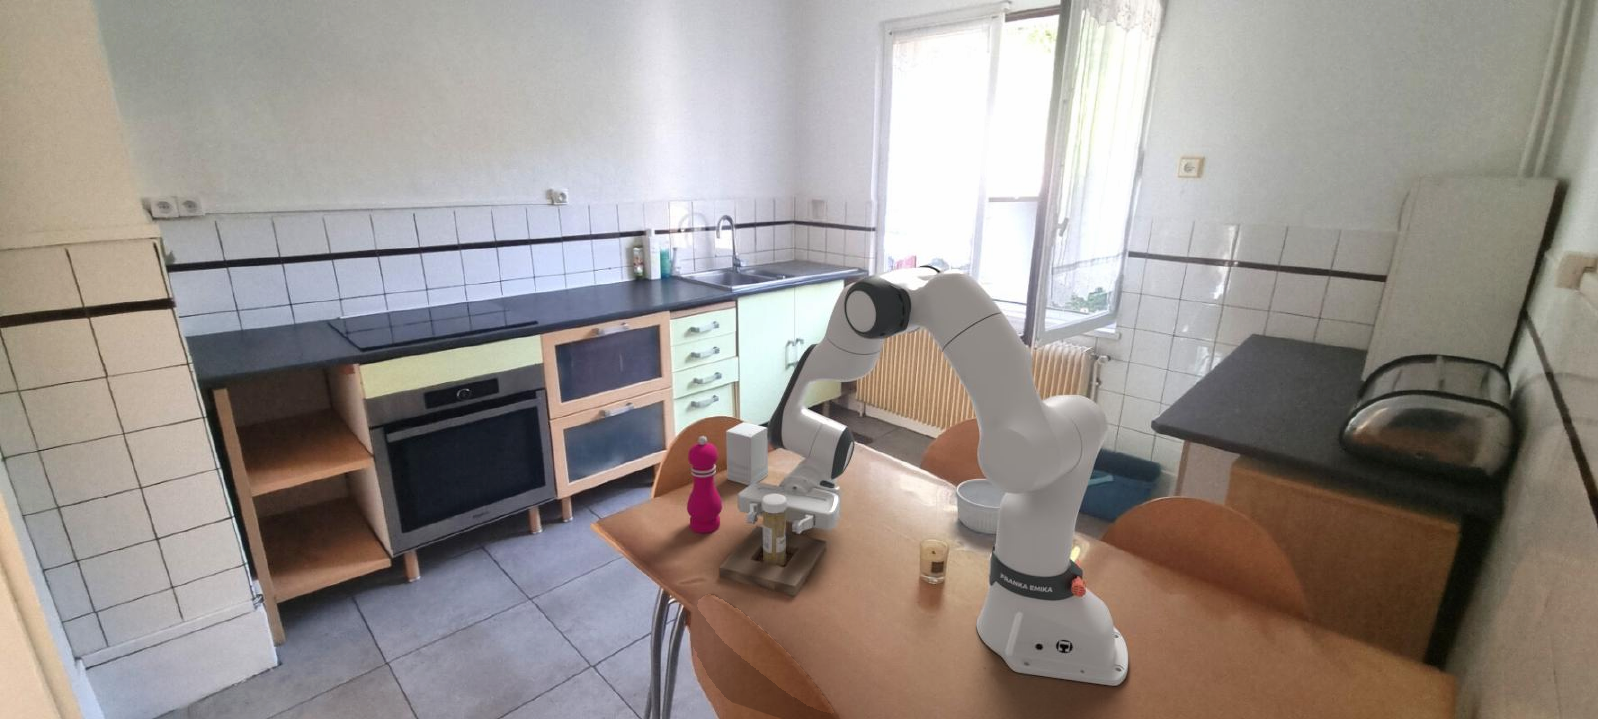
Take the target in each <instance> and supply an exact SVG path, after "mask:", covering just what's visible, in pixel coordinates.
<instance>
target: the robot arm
mask: <svg viewBox="0 0 1598 719" xmlns="http://www.w3.org/2000/svg"><path fill="white" fill-rule="evenodd" d="M923 329H924V330H926V331H927V332H928V333H929V334H930V336H931V337H932V339H933V340H934V342H935V344H936V345H937V347H938V348H939V350H940V351H941V353H942V354H943V356H944V357H945V359H946V361H947V362H948V363H949V366H950V367H951V368H952V370H953V372H954V373H955V375H956V376H957V378H958V379H959V381H960V383H961V385H962V386H963V388H964V389H965V391H966V393H967V395H968V398H969V400H970V402H971V405H972V407H973V410H974V414H975V418H976V421H977V425H978V426H977V427H978V430H979V431H978V432H979V443H978V446H977V462H978V465H979V468H980V470H981V472H982V475H983V476H984V477H985V479H987V480H988V481H989V482H990V483H991V484H992V485H993V486H995V487H996V488H998V489H1000V490H1002V491H1004V492H1006V494H1005V495H1004V497H1003V499H1002V501H1001V503H1000V507H999V514H998V524H997V534H995V544H994V545H993V547H992V551H991V553H990V556H989V557H990V559H989V568H988V578H989V579H988V582H989V586H988V590H987V594H986V598H985V601H984V604H983V607H982V610H981V611H980V614H979V615H978V617H977V619H976V620H977V621H976V629H977V633H978V635H979V637H980V638H981V640H982V641H983V643H984V644H985V645H986V646H987V647H989V648H990V649H991V650H992V651H993V652H995V653H997V655H998V656H1000V657H1002V659H1003V660H1004V661H1005V663H1006V665H1008V667H1009V668H1010V669H1011V670H1012V671H1014V672H1016V673H1018V674H1019V673H1020V674H1025V675H1033V676H1041V677H1047V678H1055V679H1063V680H1070V681H1076V682H1083V683H1090V684H1098V685H1106V686H1112V687H1113V686H1116V687H1117V686H1119V685H1120V684H1121V683H1122V682H1123V681H1124V680H1125V679H1126V677H1127V675H1128V670H1129V653H1128V652H1129V651H1128V647H1127V644H1126V641H1125V639H1124V637H1123V636H1122V634H1121V633H1120V631H1119V630H1118V629H1117V628H1116V627H1115V625H1114V622H1113V618H1112V615H1111V613H1110V612H1111V611H1110V610H1109V608H1108V606H1107V605H1106V604H1105V602H1104V601H1103V600H1101V599H1100V597H1098V596H1097V595H1095V594H1094V593H1093V592H1092V591H1091V590H1089V589H1088V588H1087V587H1086V586H1087V585H1086V584H1087V583H1086V581H1084V580H1083V574H1084V571H1083V569H1082V568H1081V562H1080V559H1079V558H1078V559H1077V560H1076V562H1075V561H1073V559H1071V556H1072V551H1073V550H1072V548H1073V542H1074V535H1075V529H1076V523H1077V520H1078V519H1077V518H1078V516H1079V515H1078V514H1079V510H1080V509H1081V505H1082V503H1083V499H1084V497H1085V493H1086V491H1087V488H1088V485H1089V483H1090V479H1091V476H1092V473H1093V470H1094V467H1095V463H1096V459H1097V458H1098V455H1099V453H1100V450H1101V448H1102V446H1103V445H1104V442H1105V440H1106V439H1107V435H1108V430H1109V429H1108V428H1109V427H1108V425H1109V424H1108V420H1107V417H1106V415H1105V412H1104V411H1103V409H1102V408H1101V407H1100V406H1099V404H1097V403H1096V402H1095V401H1093V400H1092V399H1090V398H1089V397H1086V396H1083V395H1080V394H1061V395H1059V394H1058V395H1052V396H1049V397H1047V398H1045V399H1044V400H1043V399H1042V397H1041V396H1040V393H1039V391H1038V389H1037V387H1036V384H1035V380H1034V377H1033V376H1034V375H1033V370H1032V366H1033V356H1032V353H1031V350H1029V348H1028V347H1027V346H1026V344H1025V342H1024V341H1023V340H1022V338H1021V337H1020V335H1019V334H1018V333H1017V331H1016V330H1015V328H1014V327H1013V325H1012V324H1011V322H1010V321H1009V319H1008V318H1007V316H1005V314H1004V312H1003V311H1002V310H1001V308H1000V307H999V305H998V304H997V303H996V302H995V301H994V300H993V298H992V297H991V296H990V295H989V293H987V291H986V290H985V289H984V288H983V287H982V286H981V285H980V284H979V283H978V282H977V281H976V280H975V278H973V277H972V276H971V275H969V273H967V272H966V271H963V270H960V269H957V268H955V269H954V268H953V269H946V268H944V267H941V266H937V265H929V264H926V265H920V266H917V267H908V268H907V267H906V268H896V269H895V268H894V269H891V270H887V271H884V272H881V273H878V274H876V275H867V276H866V277H863V278H861V279H859V280H857V281H856V282H852V283H850V284H848V285H846V286H845V287H844V288H843V289H842V290H841V292H840V294H839V296H838V298H837V300H836V302H835V304H834V306H833V308H832V311H831V314H830V317H829V319H828V323H827V326H826V331H825V334H824V337H823V338H822V340H821V341H820V342H819V343H812V344H810V346H808V347H807V348H806V349H805V351H804V352H803V353H802V355H801V356H800V358H799V360H798V362H797V364H796V366H795V367H794V369H793V372H792V373H791V375H790V378H789V380H788V382H787V385H786V387H785V390H784V391H783V394H782V396H781V398H780V401H779V403H778V404H777V407H776V408H775V410H774V412H773V413H772V414H771V416H770V418H769V421H768V423H767V436H768V437H769V440H770V442H771V443H772V445H773V446H774V447H776V448H780V449H783V450H785V451H790V452H792V453H793V454H796V455H798V456H800V457H801V458H802V457H803V459H802V460H801V461H800V462H799V463H797V465H796V467H795V468H794V469H792V470H791V471H790V472H789V473H788V474H786V476H784V478H783V479H782V480H781V481H780V483H779V485H776V484H770V483H765V482H757V483H754V484H752V485H750V486H748V485H747V487H745V488H743V490H741V491H740V492H739V493H738V494H737V508H738V511H739V512H740V513H746V514H747V515H746V522H747V523H748V524H752V525H755V524H756V523H757V522H758V518H759V517H763V509H762V499H763V497H764V496H766V495H769V494H780V495H783V496H785V497H786V500H787V508H786V516H785V517H786V523H792V525H791V529H792V530H791V533H792V534H796V535H800V534H801V533H802V532H803V531H806V530H809V529H812V528H814V529H819V530H824V531H832V530H834V529H835V528H836V527H837V525H838V522H839V521H840V520H839V519H840V514H841V506H842V491H841V486H839V485H838V484H836V482H838V479H839V477H841V476H842V475H843V474H844V472H845V471H846V470H847V468H848V466H849V464H850V463H851V459H852V456H853V454H854V450H855V445H856V444H855V443H856V442H855V438H854V435H853V432H852V430H851V429H850V427H849V426H847V425H845V424H842V423H840V422H839V421H836V420H833V419H832V418H829V417H826V416H824V415H822V414H820V413H817V412H815V411H813V410H811V409H808V408H807V407H806V406H805V405H804V404H803V402H804V399H805V398H806V395H807V393H808V390H809V388H810V386H811V384H812V383H813V382H816V381H817V382H818V381H819V382H820V381H822V382H824V381H826V382H827V381H829V382H830V381H831V382H840V383H845V382H846V383H847V382H848V383H849V382H853V381H857V380H860V379H862V378H865V377H866V376H868V375H869V374H870V373H871V372H872V371H873V370H874V369H875V367H876V365H877V363H878V361H879V358H880V357H881V356H880V355H881V353H882V350H883V346H884V343H885V339H888V338H890V337H893V336H899V335H904V334H911V333H915V332H918V331H921V330H923ZM758 516H759V517H758Z"/></svg>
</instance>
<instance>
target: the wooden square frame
mask: <svg viewBox="0 0 1598 719" xmlns="http://www.w3.org/2000/svg"><path fill="white" fill-rule="evenodd" d="M826 551H827V541H826V540H822V539H818V538H813V537H809V536H804V535H800V534H797V533H793V532H787V531H786V556H790V557H791V558H790V559H789V561H788V562H787V564H786V565H784V566H785V567H784V566H782V567H780V566H776V565H772V564H767V563H763V561H758V560H759V559H760V557H761V556H763V526H759V525H756V526H755V527H754V529H752V531H751V532H749V534H748V535H747V536H746V537H745V538H744V539H743V540H742V541H741V542H740V544H739V545H738V546H737V547H736V548H735V549H734V550H733V552H731V553H730V555H728V556H727V558H726V559H725V560H724V561H723V562H722V563H721V564H720V566H718V567H719V568H718V571H719V572H718V574H719V575H718V576H719V577H720V578H723V579H726V580H727V579H728V580H730V581H735V582H739V583H742V584H746V585H750V586H755V587H758V588H762V589H765V590H769V591H773V592H777V593H781V594H784V595H789V596H793V597H796V596H797V594H798V593H799V591H800V590H801V588H802V587H803V586H804V584H805V583H806V582H807V580H808V578H809V576H810V575H811V574H812V572H813V571H814V569H815V568H816V567H817V565H818V563H819V562H820V560H821V559H822V558H823V557H824V554H825V553H826Z"/></svg>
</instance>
